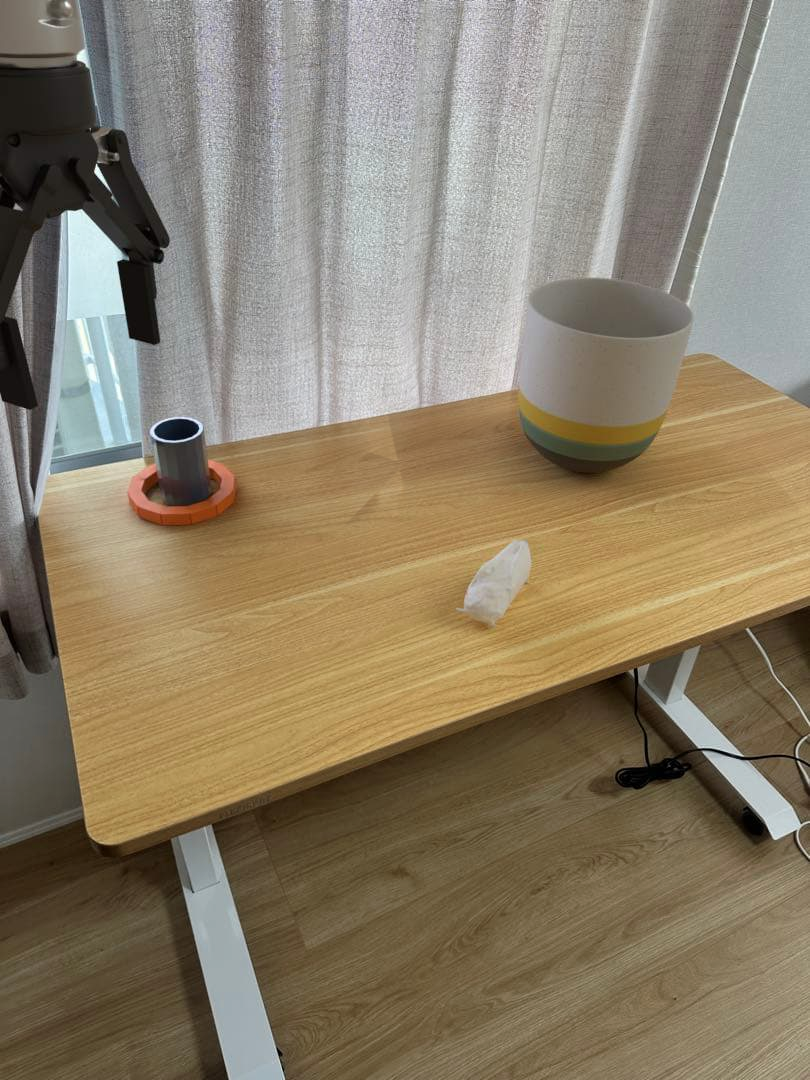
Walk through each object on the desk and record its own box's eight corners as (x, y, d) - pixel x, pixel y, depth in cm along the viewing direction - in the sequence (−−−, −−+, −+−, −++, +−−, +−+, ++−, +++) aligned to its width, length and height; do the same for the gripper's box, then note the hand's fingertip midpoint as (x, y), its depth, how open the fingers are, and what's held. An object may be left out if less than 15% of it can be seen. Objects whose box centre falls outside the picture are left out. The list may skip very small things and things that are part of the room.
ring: (108, 507, 96) (106, 495, 95) (174, 459, 105) (173, 448, 104) (194, 536, 92) (192, 525, 91) (254, 484, 101) (254, 473, 100)
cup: (150, 498, 98) (138, 433, 92) (183, 475, 102) (173, 412, 97) (190, 513, 96) (180, 447, 90) (221, 488, 100) (213, 425, 95)
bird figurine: (481, 578, 90) (449, 614, 82) (504, 527, 87) (473, 559, 78) (521, 599, 89) (493, 637, 80) (545, 548, 86) (518, 582, 77)
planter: (676, 495, 103) (722, 337, 90) (527, 502, 100) (553, 340, 87) (624, 421, 118) (657, 276, 105) (494, 425, 116) (511, 277, 103)
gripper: (-112, 85, 40) (-5, 451, 53) (196, 49, 59) (221, 327, 72) (-210, 69, 43) (-86, 423, 56) (115, 39, 61) (153, 310, 74)
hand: (87, 370), depth 64 cm, fingers open, 13 cm apart
